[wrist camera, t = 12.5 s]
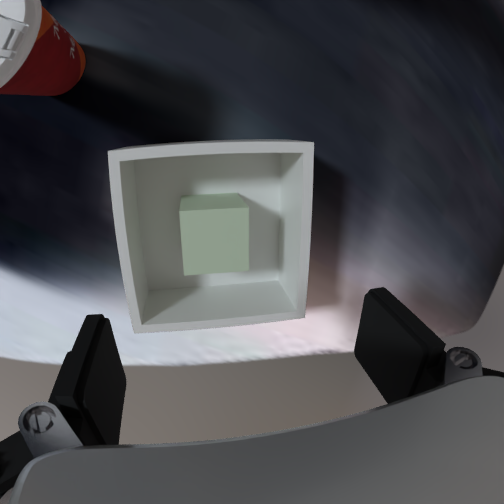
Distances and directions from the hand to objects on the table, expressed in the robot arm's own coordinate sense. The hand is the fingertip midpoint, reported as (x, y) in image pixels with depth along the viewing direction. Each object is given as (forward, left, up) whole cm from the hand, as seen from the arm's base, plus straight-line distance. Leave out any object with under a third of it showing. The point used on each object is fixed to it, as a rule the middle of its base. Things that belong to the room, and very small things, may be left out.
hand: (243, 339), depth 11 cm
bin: (+1, 0, -20) cm, 20 cm away
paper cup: (-15, -14, -21) cm, 29 cm away
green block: (+1, 0, -20) cm, 20 cm away
